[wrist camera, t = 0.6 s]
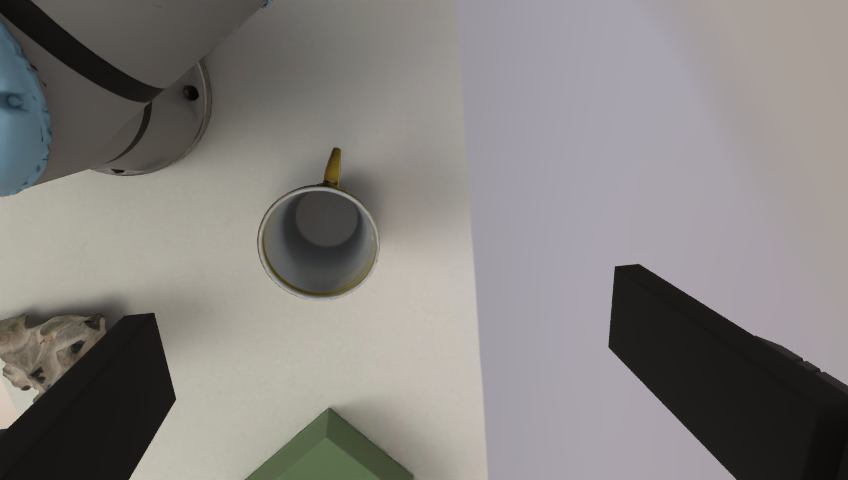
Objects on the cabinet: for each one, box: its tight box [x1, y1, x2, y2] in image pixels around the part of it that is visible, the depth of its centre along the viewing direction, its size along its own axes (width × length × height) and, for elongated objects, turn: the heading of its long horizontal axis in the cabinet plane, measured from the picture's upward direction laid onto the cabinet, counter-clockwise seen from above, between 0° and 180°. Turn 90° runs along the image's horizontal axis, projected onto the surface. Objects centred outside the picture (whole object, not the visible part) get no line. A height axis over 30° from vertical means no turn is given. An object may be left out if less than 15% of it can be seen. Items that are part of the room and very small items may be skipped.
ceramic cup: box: [257, 148, 380, 300], centre depth 43 cm, size 13×10×10 cm
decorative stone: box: [0, 314, 107, 403], centre depth 46 cm, size 16×9×10 cm
